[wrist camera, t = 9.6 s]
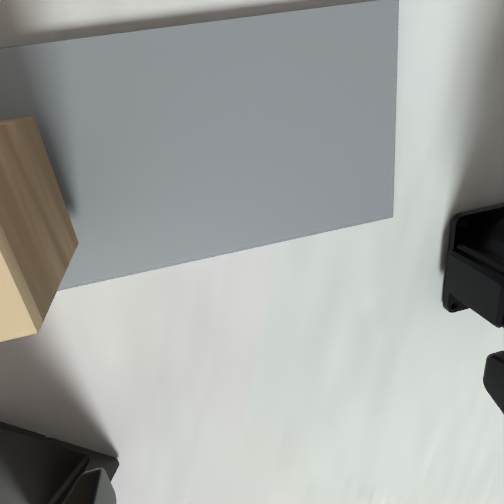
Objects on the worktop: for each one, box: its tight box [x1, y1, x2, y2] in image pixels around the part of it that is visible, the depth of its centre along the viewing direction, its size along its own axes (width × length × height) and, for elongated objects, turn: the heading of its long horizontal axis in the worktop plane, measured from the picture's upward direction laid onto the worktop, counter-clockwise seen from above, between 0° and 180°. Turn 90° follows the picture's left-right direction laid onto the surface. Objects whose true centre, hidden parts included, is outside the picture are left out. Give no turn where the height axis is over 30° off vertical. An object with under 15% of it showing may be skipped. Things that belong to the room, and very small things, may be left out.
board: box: [0, 0, 399, 291], centre depth 17 cm, size 24×10×1 cm, turn 98°
